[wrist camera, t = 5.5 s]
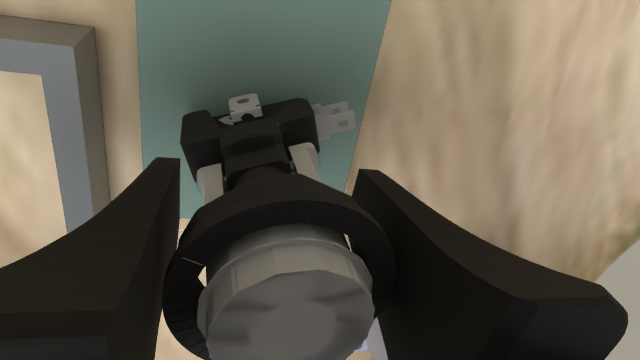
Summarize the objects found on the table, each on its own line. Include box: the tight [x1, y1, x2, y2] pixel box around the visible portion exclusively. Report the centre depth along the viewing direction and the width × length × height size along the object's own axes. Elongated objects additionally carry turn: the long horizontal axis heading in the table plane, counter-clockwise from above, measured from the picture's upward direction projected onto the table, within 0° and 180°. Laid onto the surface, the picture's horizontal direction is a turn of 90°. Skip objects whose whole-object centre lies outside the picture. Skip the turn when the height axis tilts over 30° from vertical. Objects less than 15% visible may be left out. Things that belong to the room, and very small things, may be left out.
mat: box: [136, 0, 391, 218], centre depth 17 cm, size 9×11×1 cm
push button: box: [162, 93, 396, 360], centre depth 13 cm, size 7×5×10 cm
